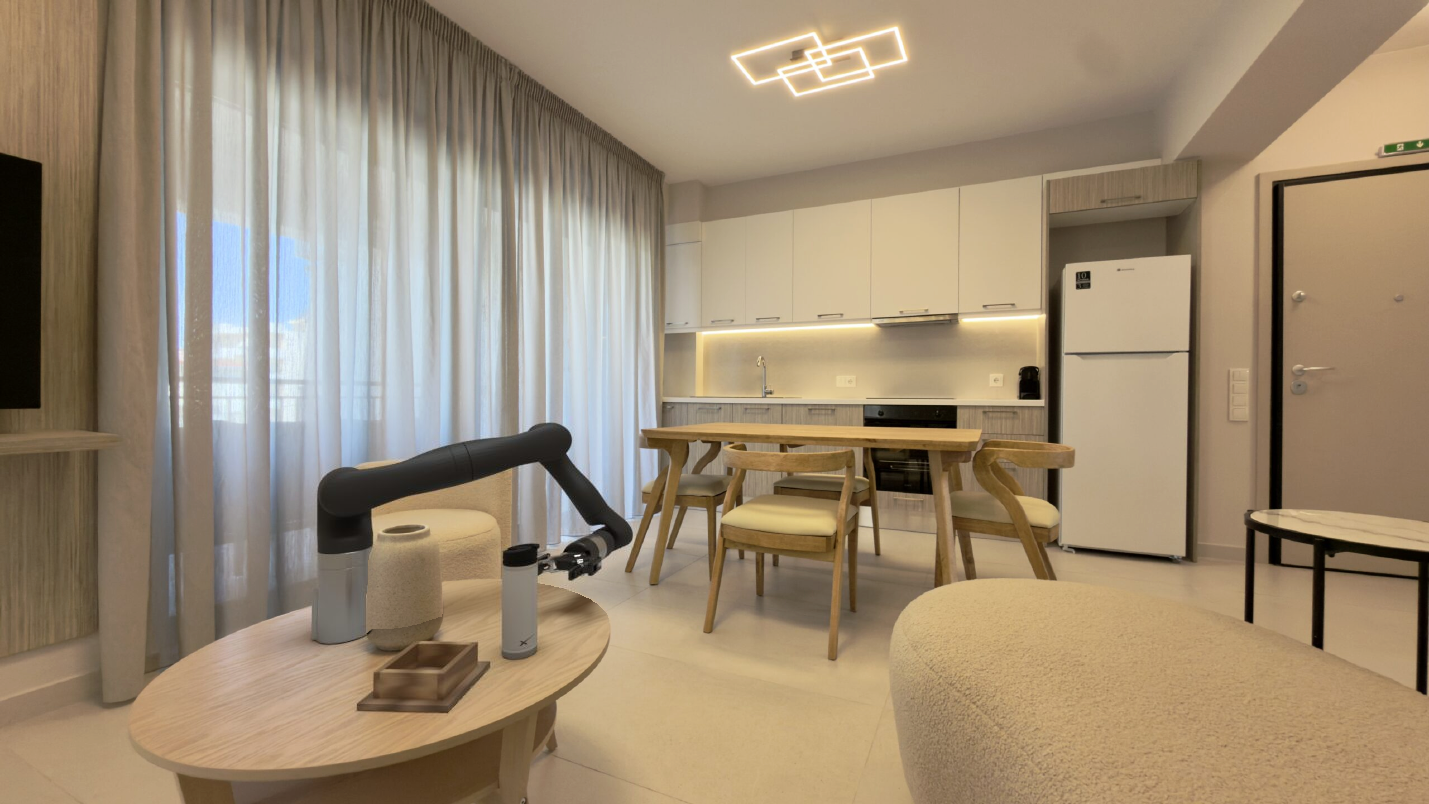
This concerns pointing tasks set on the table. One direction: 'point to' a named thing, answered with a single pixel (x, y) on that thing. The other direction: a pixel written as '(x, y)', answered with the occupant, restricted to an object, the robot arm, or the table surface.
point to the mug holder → (425, 677)
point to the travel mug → (519, 601)
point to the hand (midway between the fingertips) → (550, 574)
